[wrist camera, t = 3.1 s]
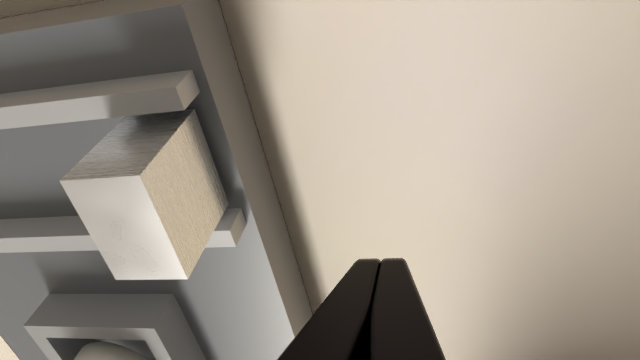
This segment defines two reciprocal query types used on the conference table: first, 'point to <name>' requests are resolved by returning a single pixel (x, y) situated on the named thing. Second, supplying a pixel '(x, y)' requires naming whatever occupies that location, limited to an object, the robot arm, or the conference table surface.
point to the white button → (107, 352)
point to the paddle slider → (149, 195)
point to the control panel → (82, 136)
